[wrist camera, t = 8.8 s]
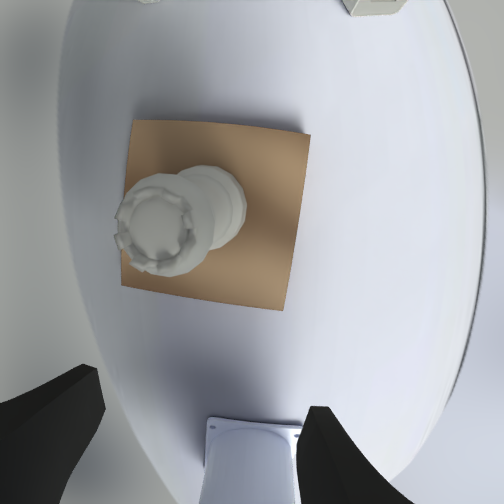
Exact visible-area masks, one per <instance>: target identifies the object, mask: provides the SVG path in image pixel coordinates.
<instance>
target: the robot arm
mask: <svg viewBox="0 0 504 504" xmlns="http://www.w3.org/2000/svg"><path fill="white" fill-rule="evenodd" d="M105 410H106V408H105V403H104V399H103V395H102V390H101V386H100V381H99V376H98V371H97V368H94V367H91V366H88V365H85V364H81V365H79V366H77V367H75V368H73V369H71V370H69V371H68V372H66V373H64V374H62V375H60V376H58V377H56V378H54V379H53V380H51V381H49V382H47V383H45V384H43V385H41V386H39V387H37V388H35V389H33V390H31V391H29V392H26V393H24V394H22V395H20V396H17V397H15V398H13V399H11V400H8V401H5V402H2V403H0V504H59V503H60V500H61V497H62V494H63V491H64V489H65V486H66V484H67V481H68V479H69V477H70V475H71V473H72V471H73V470H74V468H75V466H76V465H77V463H78V461H79V460H80V458H81V456H82V455H83V453H84V451H85V449H86V448H87V446H88V445H89V443H90V441H91V440H92V438H93V436H94V434H95V433H96V431H97V429H98V426H99V424H100V422H101V420H102V417H103V414H104V412H105ZM211 425H213V426H211ZM295 453H296V465H297V476H298V483H299V490H300V497H301V504H414V503H413V502H411V501H410V500H408V499H407V498H406V497H404V496H403V495H402V494H401V493H400V492H399V491H397V490H396V489H395V488H394V487H393V486H392V485H391V484H390V483H389V482H388V481H387V480H386V479H385V478H384V477H383V476H382V475H381V474H380V473H379V472H378V471H377V470H376V469H375V468H374V467H373V466H372V465H371V463H370V462H369V461H368V460H367V459H366V457H365V456H364V455H363V454H362V452H361V451H360V450H359V449H358V447H357V446H356V445H355V443H354V442H353V441H352V439H351V438H350V437H349V435H348V434H347V433H346V431H345V430H344V428H343V427H342V425H341V424H340V422H339V421H338V420H337V418H336V417H335V415H334V414H333V412H332V411H331V409H330V408H329V407H324V406H310V409H309V412H308V414H307V417H306V420H305V422H304V425H303V427H302V426H295V425H278V424H266V423H255V422H246V421H238V420H230V419H223V418H217V417H209V418H208V420H207V430H206V448H205V468H204V473H205V475H204V480H203V485H202V490H201V495H200V500H199V504H295V492H294V477H293V464H292V460H293V458H294V456H295Z"/></svg>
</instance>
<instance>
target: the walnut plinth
mask: <svg viewBox="0 0 504 504" xmlns="http://www.w3.org/2000/svg"><path fill="white" fill-rule="evenodd" d="M310 137H311V135H308V134H303V133H297V132H291V131H284V130H277V129H270V128H263V127H254V126H246V125H236V124H226V123H214V122H199V121H178V120H133V124H132V130H131V137H130V144H129V152H128V160H127V169H126V178H125V189H124V197H125V195H126V193H127V192H128V191H129V190H130V189H131V188H132V187H133V186H134V185H135V184H136V183H137V182H139V181H140V180H141V179H144V178H147V177H149V176H152V175H155V174H158V173H162V174H174V175H177V174H178V173H179V172H181V171H182V170H185V169H188V168H191V167H194V166H197V165H198V166H200V165H207V166H217V167H219V168H221V169H223V170H225V171H227V172H228V173H230V174H232V175H233V176H234V178H235V179H236V180H237V181H238V183H239V184H240V185H241V187H242V188H243V191H244V195H245V199H246V202H247V209H246V216H245V222H244V223H243V225H242V227H241V228H240V230H239V232H238V234H237V235H236V236H235V237H234V238H233V239H231V240H230V241H229V242H227V243H226V244H225V245H223V246H222V247H221V248H217V249H213V250H209V251H208V253H207V255H206V257H205V258H204V260H203V261H202V262H201V263H200V264H199V265H197V266H196V267H195V268H193V269H192V270H191V271H189V272H188V273H185V274H181V275H177V276H173V277H166V276H160V275H154V274H150V273H149V272H147V271H144V272H141V271H139V270H138V269H136V268H134V267H133V266H131V265H130V264H129V263H130V262H131V260H132V259H131V258H130V257H129V255H128V254H127V253H126V252H125V250H124V249H121V285H122V286H127V287H132V288H138V289H143V290H148V291H154V292H159V293H165V294H170V295H176V296H182V297H188V298H194V299H200V300H207V301H213V302H220V303H226V304H233V305H240V306H247V307H255V308H262V309H270V310H278V311H283V308H284V303H285V298H286V292H287V287H288V281H289V276H290V270H291V264H292V258H293V252H294V246H295V240H296V234H297V228H298V222H299V215H300V209H301V202H302V195H303V189H304V182H305V175H306V167H307V160H308V152H309V145H310Z"/></svg>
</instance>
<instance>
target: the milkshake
mask: <svg viewBox="0 0 504 504" xmlns="http://www.w3.org/2000/svg"><path fill="white" fill-rule="evenodd" d="M137 1H139V2H141V3H143V4H148V3H157V2H159V1H160V0H137Z"/></svg>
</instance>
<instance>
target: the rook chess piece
mask: <svg viewBox="0 0 504 504" xmlns="http://www.w3.org/2000/svg"><path fill="white" fill-rule="evenodd" d="M246 209H247V202H246V199H245V195H244V191H243V188H242V187H241V185H240V184H239V183H238V181H237V180H236V179H235V178H234V176H233V175H232V174H230V173H228V172H227V171H225V170H223V169H221V168H219V167H217V166H207V165H200V166H198V165H197V166H194V167H191V168H188V169H185V170H182V171H181V172H179V173H178V174H177V175H174V174H162V173H158V174H155V175H152V176H149V177H147V178H144V179H141V180H140V181H139V182H137V183H136V184H135V185H134V186H133V187H132V188H131V189H130V190H129V191H128V192H127V193H126V195H125V197H124V200H123V202H122V203H121V204H120V206H119V208H118V211H117V213H116V216H115V219H118V233H117V234H115V235H114V238H115V241H116V244H117V247H118V250H119V251H120V250H121V249H124V250H125V252H126V253H127V254H128V255H129V257H130V258H131V259H132V260H131V262H130V263H129V264H130V265H131V266H133V267H134V268H136V269H138V270H139V271H141V272H144V271H147V272H149V273H150V274H154V275H160V276H166V277H173V276H177V275H181V274H185V273H188V272H189V271H191V270H192V269H193V268H195V267H196V266H197V265H199V264H200V263H201V262H202V261H203V260H204V258H205V257H206V255H207V253H208V251H209V250H213V249H217V248H221V247H222V246H223V245H225V244H226V243H227V242H229V241H230V240H231V239H233V238H234V237H235V236H236V235H237V234H238V232H239V230H240V228H241V227H242V225H243V223H244V222H245V216H246Z"/></svg>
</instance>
